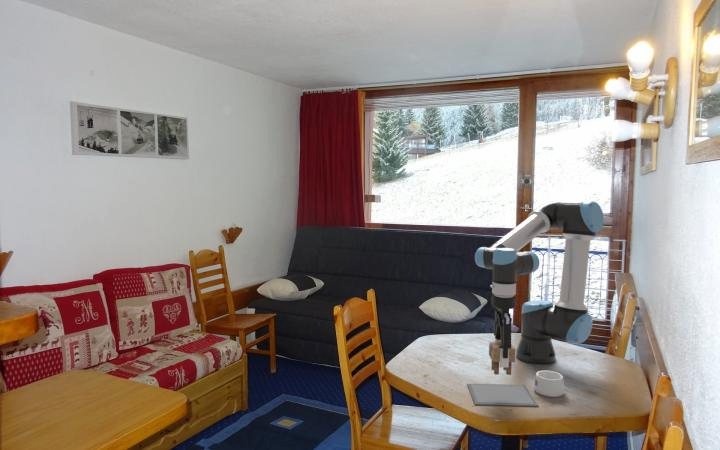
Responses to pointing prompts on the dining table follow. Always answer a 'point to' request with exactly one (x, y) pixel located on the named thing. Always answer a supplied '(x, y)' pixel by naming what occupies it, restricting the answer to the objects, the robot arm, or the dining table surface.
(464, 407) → the dining table surface
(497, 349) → the small wooden stool
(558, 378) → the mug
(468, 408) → the dining table surface
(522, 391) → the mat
